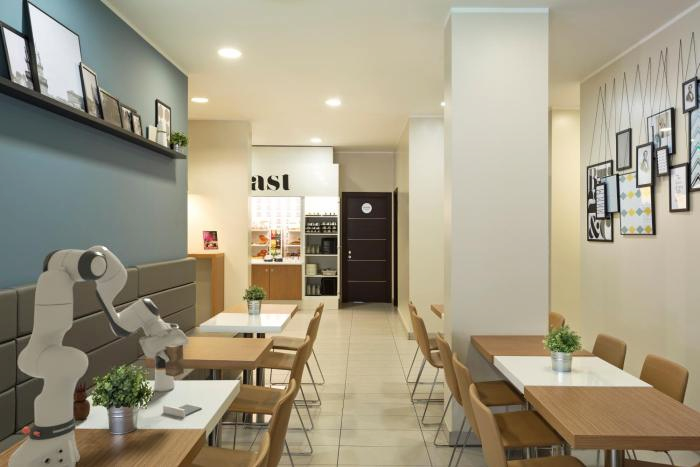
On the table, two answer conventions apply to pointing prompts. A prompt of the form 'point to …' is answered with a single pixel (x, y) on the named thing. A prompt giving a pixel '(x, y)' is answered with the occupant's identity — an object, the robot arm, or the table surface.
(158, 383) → the vodka
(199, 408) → the coaster
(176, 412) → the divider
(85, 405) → the wooden figurine
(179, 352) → the walnut block
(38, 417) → the robot arm
